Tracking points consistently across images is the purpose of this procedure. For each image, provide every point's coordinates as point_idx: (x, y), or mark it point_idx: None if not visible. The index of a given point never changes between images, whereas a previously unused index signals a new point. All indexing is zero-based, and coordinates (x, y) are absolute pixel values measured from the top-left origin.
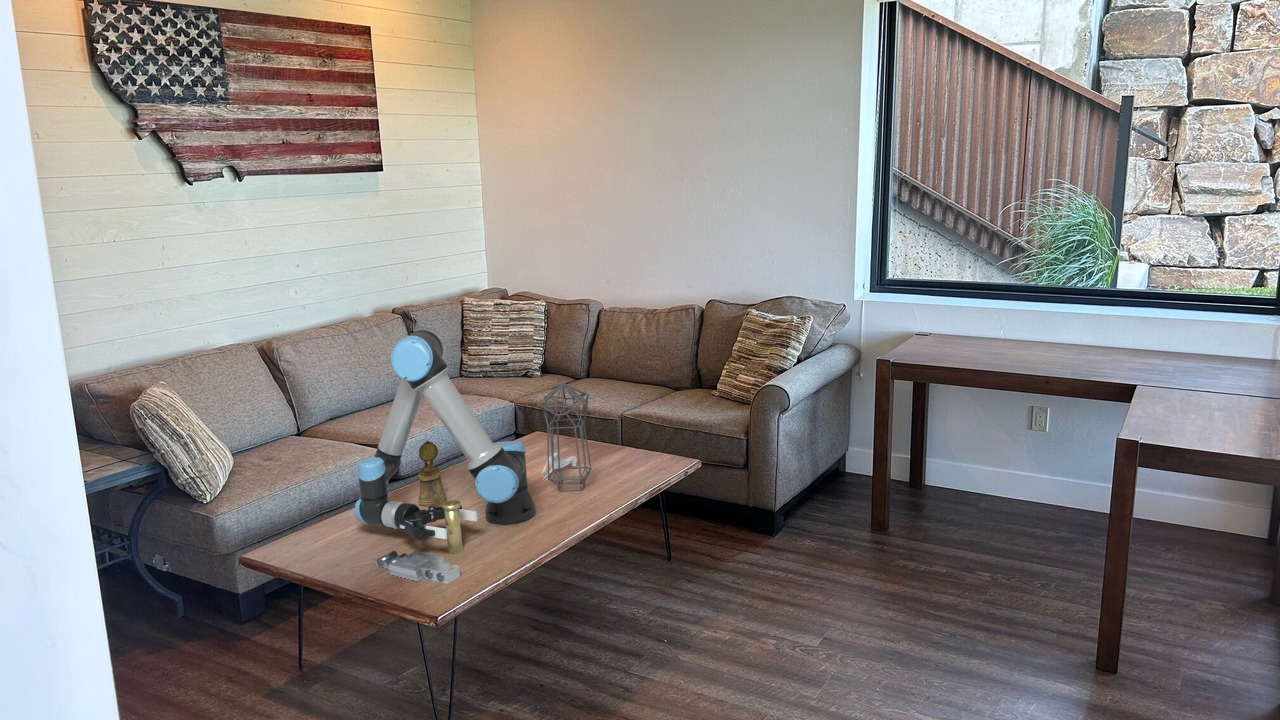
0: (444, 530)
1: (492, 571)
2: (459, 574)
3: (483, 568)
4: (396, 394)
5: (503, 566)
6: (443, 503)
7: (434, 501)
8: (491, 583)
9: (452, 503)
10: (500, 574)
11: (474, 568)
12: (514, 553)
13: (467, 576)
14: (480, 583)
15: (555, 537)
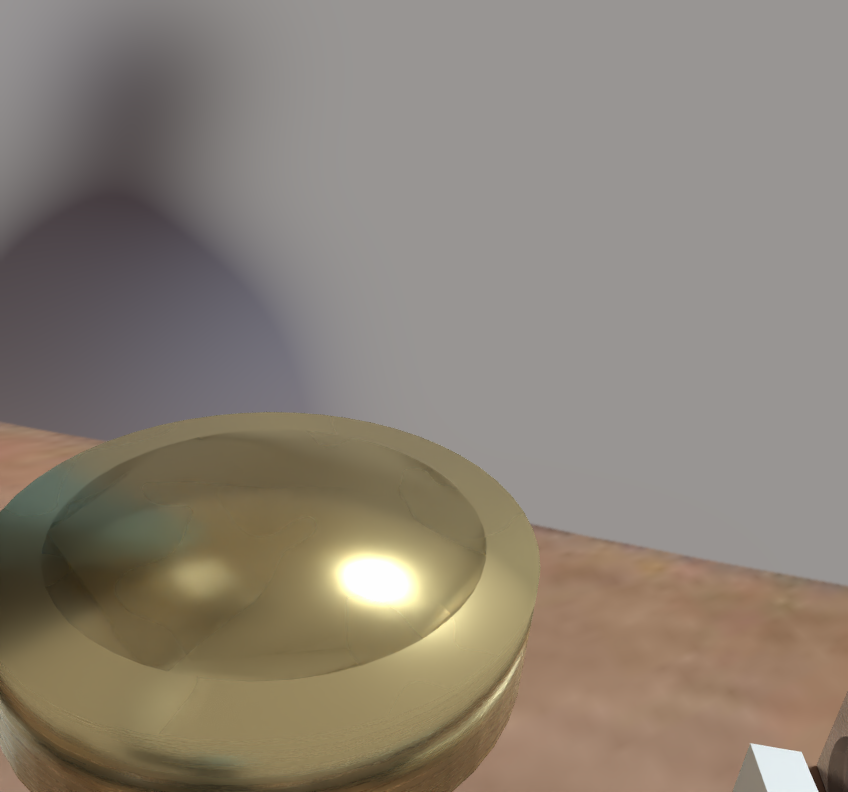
0: (798, 764)
1: (608, 606)
2: (828, 751)
3: (598, 666)
4: None
5: None
6: (332, 678)
7: None
8: (739, 568)
9: (302, 493)
10: (619, 563)
11: (632, 723)
12: None
13: (772, 716)
14: (784, 612)
15: (43, 470)
